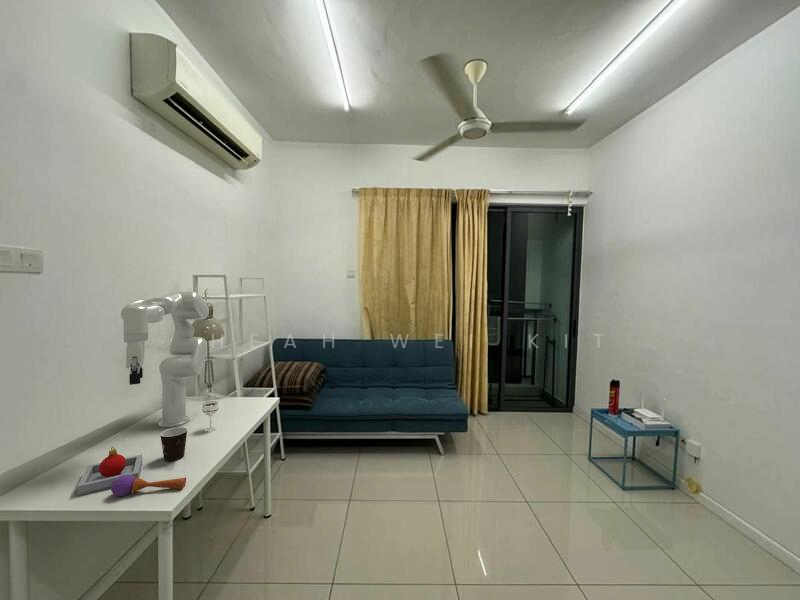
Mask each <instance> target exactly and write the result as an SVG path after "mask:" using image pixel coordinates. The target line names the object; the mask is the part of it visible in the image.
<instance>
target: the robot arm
mask: <svg viewBox="0 0 800 600" xmlns="http://www.w3.org/2000/svg"><path fill="white" fill-rule="evenodd" d="M170 314H171V319H172V321H173V325H174V332H173V335H172V339H171V342H170V346H169V354H170V355H171V356H172V357H167V358H163V360H161V362H160V363H159V367H158V368H159V373H160V378H161V393H162V394H161V397H162V398H161V404H162V405H161V410H162V411H161V420H159V421H158V423H157V424H158V427H160V428H176V427H179V426H183V425H185V424H186V423H188V422H190V418H191V417H190V416H188V415H187V385H186V382H185V381H184V379H183V378H192V377H193V378H194V377H198V376H199V375H200V374H201V372H202V370H203V367H204V362H205V358H206V354H207V348H208V345H207V340H206V339H205V338H204V337H202V336H201V337H200V336H194V334H195V328H194V326H193V325H192V324H191V323H190V320H191V321H192V320H193V321H194V320H200V321H201V320H205V319H207V318H208V317H209V315H210V309H209V306H208V304H207V303H206V301H205V300H204V299H203V297H202V296H201V295H200V293H198V292H196V291H178V290H177V291H171V292H169V293H167V294H165V295H162V296H159V297H158V296H157V297H152V298H151V297H150V298H147V299H140V300H137V301H133V302H130V303H127V304H126V305H125V306H124V307H123V308H122V309H121V311H120V316H121V319H122V321H123V343H126V349H125V358H126V359H125V368H126V369H130V370H129V374H128V375H129V380H128V381H129V385H131V386H132V385H139V384H141V379H143V375H144V374H143V373H144V372H143V371H144V370H143V365H144V361H145V342H147V341H149V324H155V323H159V322H161V321H162V320H163V319H164V317H165V316H166V315H170Z"/></svg>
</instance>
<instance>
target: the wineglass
mask: <svg viewBox="0 0 800 600" xmlns="http://www.w3.org/2000/svg"><path fill="white" fill-rule="evenodd" d="M201 406H202V407H201V411H202V413H203V414H204V415H206V416H208V417H209V427H208V428H204V430H205V431H204V432H206V431H208V432H209V431H210V432H214V431H216V430H217V427H214V426H212V416H213V415H214V414H216V413H217V412H218V411H219V409H220V406H219V401H216V400H215V401H214V400H213V401H206V402H203V403H202V405H201Z"/></svg>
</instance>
